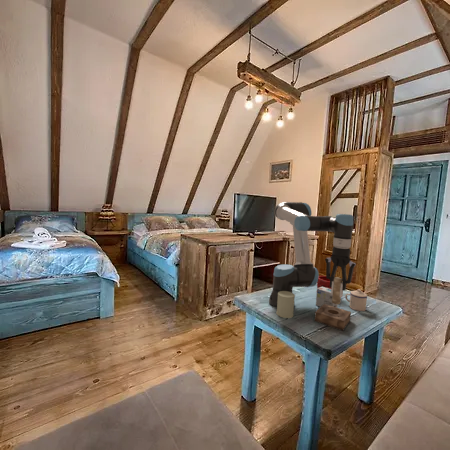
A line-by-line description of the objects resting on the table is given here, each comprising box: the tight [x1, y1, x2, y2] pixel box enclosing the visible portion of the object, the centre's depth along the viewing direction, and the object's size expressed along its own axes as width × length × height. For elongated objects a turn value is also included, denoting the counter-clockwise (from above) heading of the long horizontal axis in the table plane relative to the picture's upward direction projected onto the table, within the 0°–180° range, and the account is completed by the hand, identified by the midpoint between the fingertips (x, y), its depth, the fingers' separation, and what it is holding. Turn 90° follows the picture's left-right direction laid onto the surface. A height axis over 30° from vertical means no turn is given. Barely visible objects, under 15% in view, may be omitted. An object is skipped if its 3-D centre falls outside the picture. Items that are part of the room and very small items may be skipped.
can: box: [275, 291, 296, 319], centre depth 135 cm, size 9×9×12 cm
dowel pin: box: [332, 276, 343, 305], centre depth 117 cm, size 4×4×12 cm
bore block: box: [314, 304, 352, 331], centre depth 130 cm, size 14×14×5 cm
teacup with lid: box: [344, 288, 368, 312], centre depth 148 cm, size 12×9×12 cm
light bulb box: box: [315, 287, 339, 308], centre depth 147 cm, size 11×7×11 cm, turn 41°
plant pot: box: [316, 275, 332, 289], centre depth 165 cm, size 13×13×12 cm
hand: (336, 295), depth 117 cm, fingers closed on dowel pin, 3 cm apart
